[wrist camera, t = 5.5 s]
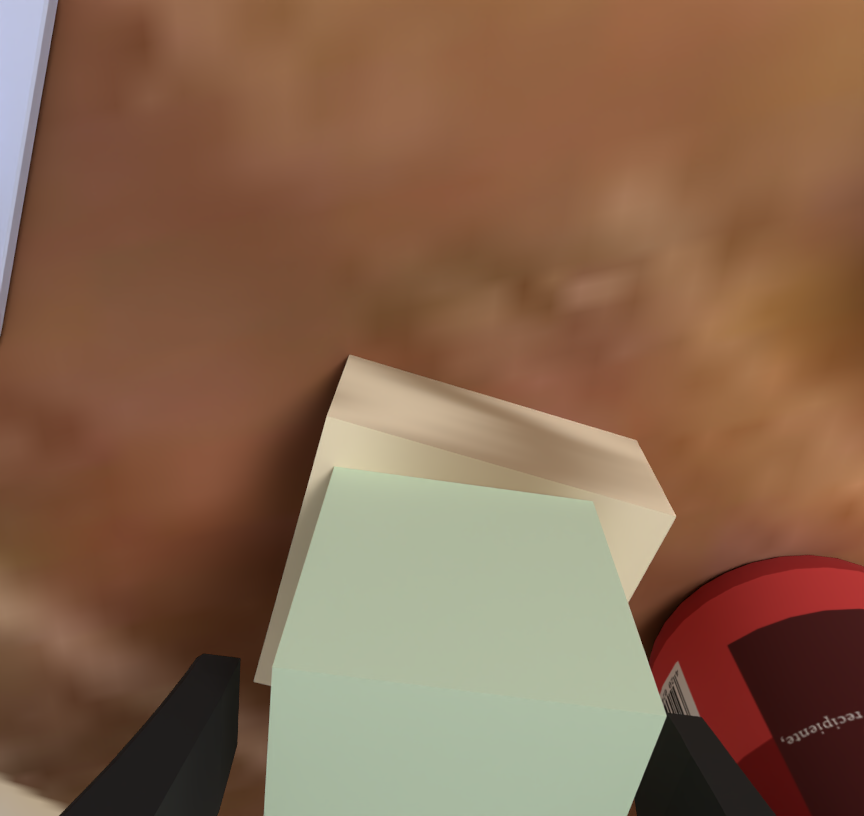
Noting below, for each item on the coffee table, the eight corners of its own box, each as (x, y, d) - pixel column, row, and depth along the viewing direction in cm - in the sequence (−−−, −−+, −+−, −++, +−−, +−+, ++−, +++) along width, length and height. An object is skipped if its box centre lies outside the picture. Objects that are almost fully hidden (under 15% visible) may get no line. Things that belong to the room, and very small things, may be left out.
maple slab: (286, 580, 19) (253, 681, 16) (351, 349, 16) (326, 416, 13) (529, 643, 19) (544, 752, 16) (633, 433, 17) (676, 516, 13)
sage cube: (316, 662, 15) (258, 906, 11) (333, 466, 13) (272, 667, 9) (539, 689, 15) (576, 941, 11) (593, 501, 13) (666, 716, 9)
